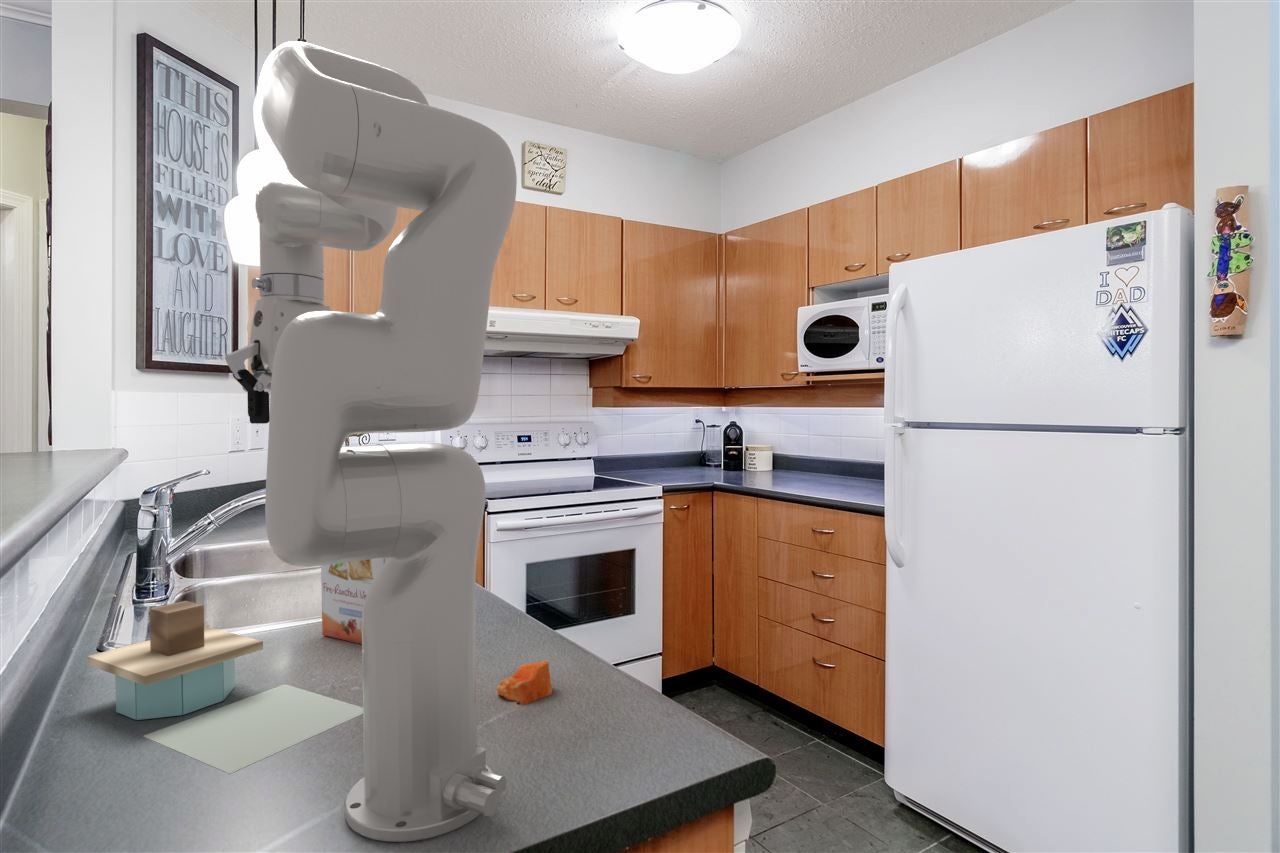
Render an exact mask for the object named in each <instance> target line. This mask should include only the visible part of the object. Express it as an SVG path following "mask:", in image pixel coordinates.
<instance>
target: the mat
mask: <svg viewBox="0 0 1280 853" xmlns="http://www.w3.org/2000/svg"><path fill="white" fill-rule="evenodd" d="M360 716H363V706H359V705H356V704H353V703H352V704H351V703H349V702H345V701H342V700H340V699H335V698H332V697H329V696H325V695H323V694H318V693H315V692H312V691H309V690H305V689H302V688H299V687H295V686H293V685H290V684H289V685H288V684H285V683H283V684H281V685H279V686H276V687H273V688H270V689H268V690H265V691H262V692H259V693H257V694H253V695H252V696H248V697H246V698H243V699H240V700H238V701H234V702H231V703H229V704H227V705H224V706H221V707H219V708H216V709H212V710H210V711H208V712H205V713H202V714H199V715H197V716H194V717H191V718H188V719H185V720H184V721H180V722H177V723H175V724H172V725H169V726H166V727H164V728H161V729H158V730H155V731H153V732H150V733H147V734H143V735H142V737H143V738H146V739H148V740H150V741H153V742H155V743H156V744H159V745H162V746H163V747H166V748H169V749H171V750H172V751H173V750H174V751H176V752H177V753H180V754H183V755H185V756H188V757H190V758H192V759H193V760H196V761H199V762H201V763H203V764H206V765H208V766H211V767H213V768H214V769H217V770H219V771H222V772H223V773H227V774H229V775H231V774H233V773H236V772H238V771H240V770H242V769H244V768H247V767H250V766H252V765H253V764H255V763H258V762H260V761H262V760H264V759H267V758H268V757H271V756H273V755H276V754H278V753H280V752H283V751H284V750H287V749H289V748H291V747H293V746H295V745H298V744H300V743H302V742H305V741H306V740H308V739H310V738H313V737H315V736H317V735H318V736H319V735H320V734H322V733H324V732H327V731H329V730H331V729H333V728H335V727H337V726H339V725H341V724H344V723H346V722H348V721H349V722H350V720H353V719H355V718H357V717H360Z"/></svg>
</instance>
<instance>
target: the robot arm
mask: <svg viewBox="0 0 1280 853" xmlns="http://www.w3.org/2000/svg"><path fill="white" fill-rule="evenodd" d="M256 98H257V109H258V114H259V118H260V122H261V124H262V127H263V129H264V132H265V134H266V136H267V137H268V139H269V141H270V142H271V144H272V145H273V147H274V149H275V150H276V152H277V153H278V156H279V157H280V159H281V160H282V162H283V164H284V166H285V167H286V169H287V170H288V172H289V174H290V175H291V176H292V177H293V178H292V177H289V176H288V177H287V176H273V177H269V178H267V179H266V180H265V181H264V182H263V183H262V184H261V186H259V187H258V189H257V191H256V194H255V214H256V219H257V221H258V223H259V224H258V225H259V266H260V267H259V268H260V269H259V270H260V271H259V272H260V275H259V278H257V277H253V279H252V280H251V286H252V288H253V289H257V290H258V291H259V296H260V299H258V300H257V299H256V302H255V304H254V305H255V306H254V310H253V315H252V320H251V326H250V337H249V338H250V339H249V344H248V345H246V346H243V347H242V348H241V347H240V348H239V349H237V350H235V351H232V352H230V353H228V354H226V355H225V361H226V363H227V365H228V367H229V369H230V371H231V372H232V376H233V378H234V380H235V381H237V382H238V384H239V385H241V387H242V390H243V392H245V393H246V392H247V416H248V417H249V423H250V424H255V425H256V424H268V441H267V461H266V475H265V476H266V478H265V503H264V504H265V506H264V513H265V514H264V515H265V516H264V517H265V528H266V535H267V539H268V543H269V545H270V548H271V550H272V551H273V553H274V555H276V556H277V558H278V559H279V560H281V561H282V562H283V563H285V564H288V565H290V566H295V567H302V568H305V567H306V568H307V567H308V568H310V567H321V566H323V565H332V564H339V563H347V562H354V561H361V560H368V559H375V558H387V560H386V562H385V563H384V565H383V566H382V568H381V570H380V571H379V573H378V574H377V576H376V578H375V579H374V581H373V583H372V584H371V587H370V589H369V591H368V593H367V595H366V599H365V602H364V605H363V611H362V644H361V653H362V654H361V657H362V658H361V659H362V660H361V661H362V662H361V666H362V668H361V669H362V674H361V675H362V707H363V714H362V721H363V722H362V723H363V724H362V725H363V731H362V732H363V733H362V734H363V736H362V738H363V777H362V778H361V779H359V780H357V782H356V783H355V784H354V785H353V786H352V787H351V789H349V792H348V793H347V795H346V797H345V801H344V818H345V820H346V822H347V825H348V826H349V827H350V828H351V829H352V831H354V832H356V833H357V834H359V835H361V836H363V837H365V838H368V839H371V840H374V841H381V842H390V843H391V842H396V843H397V842H398V843H403V842H414V841H419V840H420V841H421V840H425V839H430V838H435V837H437V836H440V835H444V834H448V833H450V832H452V831H454V830H456V829H457V830H458V829H459V828H462V827H463V826H465V825H466V824H468V823H470V822H472V821H473V820H475V819H476V818H477V817H478V816H479V815H483V816H484V817H485V816H486V817H491V816H493V815H494V814H495V813H496V811H497V810H498V808H499V805H500V800H501V796H500V794H502V793H503V792H504V791H505V790H506V787H507V783H508V782H507V777H506V776H505V775H501V774H498V773H496V772H494V771H493V770H492V768H490V766H489V765H488V764H487V762H486V761H487V760H486V757H487V756H486V755H487V754H486V751H487V749H486V748H483V747H481V746H477V744H478V743H477V739H478V738H477V736H478V735H477V732H478V730H477V673H476V672H477V668H476V665H477V663H476V660H477V659H476V658H477V656H476V653H477V652H476V579H477V578H476V576H477V575H476V574H477V561H478V551H479V543H480V536H481V531H482V526H483V520H484V512H485V506H486V482H485V477H484V473H483V471H482V468H481V467H480V465H479V464H480V463H478V461H477V460H476V459H475V458H474V457H473V456H472V455H471V454H469V453H468V452H467V451H465V450H463V449H461V448H460V447H457V446H453V445H450V444H444V443H438V442H437V443H436V442H409V443H408V442H402V443H378V444H362V445H344V443H345V441H346V440H347V438H348V437H350V436H352V435H355V434H357V435H360V434H362V435H363V434H392V433H393V434H394V433H395V434H397V433H402V434H403V433H424V432H425V433H426V432H439V431H440V432H441V431H445V430H452V429H455V428H458V427H461V426H463V425H464V424H466V423H467V422H468V421H469V419H471V417H472V415H473V413H474V411H475V408H476V405H477V403H478V398H479V392H480V388H481V387H480V386H481V380H482V373H483V372H482V371H483V362H484V355H485V354H484V353H485V352H484V351H485V343H486V337H487V336H486V335H487V327H488V318H489V308H490V299H491V288H492V281H493V277H494V276H493V275H494V271H495V270H494V269H495V266H496V265H497V264H496V263H497V261H498V256H499V254H500V250H501V248H502V245H503V241H504V240H505V236H506V235H507V232H508V230H509V229H508V228H509V226H510V224H511V220H512V217H513V213H514V209H515V205H516V204H515V203H516V198H517V183H518V181H517V168H516V162H515V159H514V156H513V154H512V151H511V149H510V147H509V145H508V143H507V142H506V141H505V139H503V137H502V136H501V135H500V134H498V133H497V132H496V131H494V130H493V129H491V128H490V127H488V126H486V124H482V123H481V122H478V121H476V120H473V119H472V118H468V117H466V116H462V115H461V114H460V115H459V114H457V113H454V112H451V111H447V110H444V109H443V108H442V109H441V108H438V107H435V106H432V105H429V101H428V100H427V98H426V97H425V94H424V93H423V92H422V90H421V89H420V88H419V87H418V86H417V85H416V84H415V83H414V82H413V81H411V80H410V79H409V78H407V77H406V76H404V75H403V74H401V73H399V72H396V71H395V70H393V69H390V68H388V67H384V66H381V65H379V64H376V63H373V62H369V61H366V60H364V59H363V60H362V59H360V58H357V57H353V56H351V55H347V54H344V53H341V52H338V51H334V50H331V49H328V48H325V47H322V46H320V45H319V46H318V45H316V44H313V43H308V42H305V41H296V40H295V41H287V42H283V43H282V44H280V45H278V46H277V47H275V48H274V49H273V50H272V51H271V52H270V54H269V55H268V57H267V58H266V60H265V61H264V64H263V66H262V69H261V72H260V76H259V79H258V86H257V97H256ZM398 208H402V209H410V210H415V211H420V213H419V214H418V215H417V216H415V217H414V218H413V219H412V220H411V221H410V222H409V223H408V224H407V225H406V226H405V227H404V228H403V229H402V231H400V233H399V234H398V235H397V237H396V238H395V239H394V240H393V242H392V244H391V245H390V246H389V248H388V250H387V252H386V255H385V258H384V263H383V264H384V267H383V273H382V274H383V276H382V292H381V300H380V305H379V308H378V309H377V311H376V312H375V313H360V312H351V311H350V312H349V311H338V310H331V307H330V306H329V305H326V304H325V273H324V272H325V269H324V268H325V267H324V262H325V261H324V256H325V255H324V248H325V247H326V248H332V249H333V248H334V249H339V250H346V251H352V252H353V251H354V252H362V251H363V252H364V251H365V252H366V251H370V250H372V249H374V248H375V247H377V246H378V245H379V244H381V243H382V242H383V241H384V240H385V239H386V238H387V237H388V236H390V234H391V232H392V231H393V229H394V226H395V224H396V221H397V216H398ZM248 359H249V363H250V364H249V365H250V371H251V372H250V371H249V370H248V369H247V368H246V365H245V361H246V360H248ZM269 384H270V393H269V391H265V389H266V388H267V386H268V385H269Z"/></svg>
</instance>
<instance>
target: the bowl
mask: <svg viewBox="0 0 1280 853" xmlns="http://www.w3.org/2000/svg"><path fill="white" fill-rule="evenodd" d="M235 659H236V658H233V659H230V660H227V661H223V662H220V663H217V664H214V665H210V666H207V667H204V668H201V669H197V670H194V671H191V672H188V673H184V674H181V675H178V676H175V677H171V678H168V679H165V680H162V681H159V682H155V683H152V684H149V685H146V686H145V685H142V684H139V683H136V682H134V681H131V680H128V679H125V678H123V677H120V676H117V675H114V678H115V681H114V682H115V712H116V713H118V714H120V715H123V716H125V717H127V718H130V719H133V720H136V721H139V720H150V719H159V718H167V717H176V716H177V717H178V716H183V715H186V714H190V713H193V712H196V711H198V710H200V709H203V708H207V707H209V706H213V705H214V704H217V703H220V702H222V701H225V700H226V698H228V696H229V694H230V693H231V692H232V691H233V689H234V688H235V687H236V667H235V665H236V664H235V663H236V662H235Z"/></svg>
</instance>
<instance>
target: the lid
mask: <svg viewBox="0 0 1280 853" xmlns="http://www.w3.org/2000/svg"><path fill="white" fill-rule="evenodd" d="M204 608H205V606H204V604H201V603H197V602H193V601H189V600H183V601H178V602H174V603H170V604H165V605H160V606H156V607H151V608H149V637H150V638H149V639H148V640H145V641H141V642H137V643H133V644H130V645H125V646H121V647H117V648H114V649H109V650H105V651H102V652H98V653H94V654H90V655H87V658H86V659H87V665H88V666H90V667H92V668H96V669H99V670H100V671H101V670H102V671H104V672H106V673H109V674H112V675H114V676H115V675H117V676H120V677H123V678H125V679H128V680H131V681H134V682H136V683H139V684H142V685H145V686H146V685H149V684H152V683H155V682H159V681H162V680H165V679H168V678H171V677H175V676H178V675H181V674H184V673H188V672H191V671H194V670H197V669H201V668H204V667H207V666H210V665H214V664H217V663H220V662H223V661H227V660H230V659H233V658H235V659H236V658H238V657H242V656H245V655H249V654H252V653H255V652H258V651H262V650H264V641H263V640H259V639H256V638H252V637H249V636H244V635H240V634H236V633H233V632H230V631H225V630H221V629H217V628H214V627H210V626H205V613H204V612H205V609H204Z"/></svg>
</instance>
